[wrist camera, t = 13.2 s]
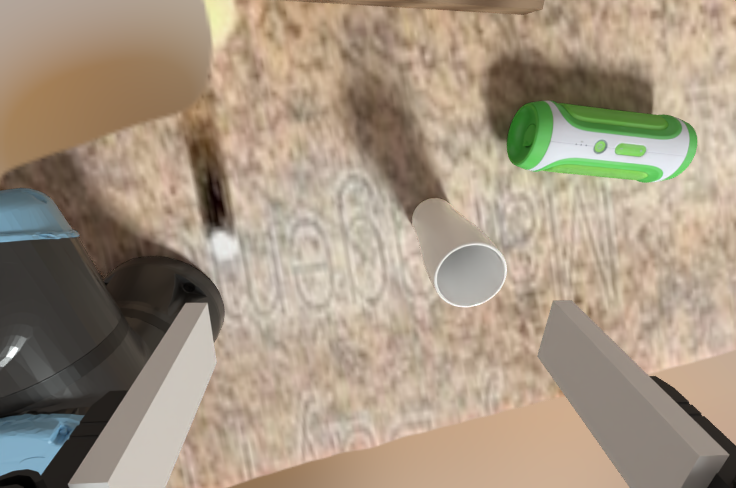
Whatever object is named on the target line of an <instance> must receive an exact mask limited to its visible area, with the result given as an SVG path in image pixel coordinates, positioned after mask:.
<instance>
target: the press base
mask: <svg viewBox="0 0 736 488" xmlns="http://www.w3.org/2000/svg"><path fill="white" fill-rule="evenodd" d="M287 1H304V2H321V3H337V4H354V5H371V6H388V7H404V8H421V9H438V10H454V11H471V12H488V13H504V14H521V15H524V14H528V13H531V12H534V11H538V10H541V9H543V4H544V0H287Z"/></svg>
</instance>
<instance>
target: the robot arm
mask: <svg viewBox="0 0 736 488" xmlns="http://www.w3.org/2000/svg"><path fill="white" fill-rule="evenodd" d="M78 236H80V235H79V233H78V232H77V231H75V230H73V229H72V228H71V226H70V225H69V224H68V222H67V221H66V219H65V218H64V216H63V215H62V213H61V212H60V210H59V209H58V207H57V206H56V204H55V203H54V201H53V200H52V199H51V198H50V197H49V196H47V195H46V194H44V193H42V192H40V191H37V190H34V189H29V188H16V189H8V190H2V191H0V488H165V487H166V485H167V482H168V480H169V477H170V475H171V473H172V470H173V468H174V465H175V463H176V460H177V458H178V456H179V453H180V451H181V448H182V446H183V443H184V441H185V438H186V436H187V434H188V431H189V429H190V426H191V424H192V421H193V419H194V417H195V414H196V412H197V409H198V407H199V404H200V402H201V400H202V397H203V395H204V392H205V390H206V387H207V385H208V382H209V380H210V378H211V375H212V373H213V370H214V368H215V365H216V363H217V360H216V354H215V348H214V342H215V340H216V339H217V337H218V334H219V332H220V330H221V328H222V325H223V322H224V304H223V301H222V298H221V296H220V294H219V292H218V290H217V288H216V287H215V286H214V284H213V283H212V282H211V281H210V280H209V279H208V278H207V277H206V276H205V275H204V274H203V273H201V272H200V271H199V270H197V269H196V268H194V267H192V266H190V265H188V264H186V263H184V262H181V261H178V260H175V259H171V258H166V257H159V256H148V257H140V258H135V259H132V260H129V261H127V262H125V263H123V264H121V265H119V266H118V267H117V268H115V269H114V270H113V271H112V272H111V273H110V274H109V275H108V276H106V277H105V278H104V279H102V278H101V276H100V274H99V272H98V271H97V269H96V267H95V266H94V264H93V262H92V260H91V259H90V257H89V255H88V253H87V252H86V250H85V248H84V247H83V245H82V243H81V241H80V240H79V238H78ZM538 358H539V359H540V361H541V362H542V363H543V365H544V366H545V368H546V369H547V371H548V372H549V373H550V375H551V376H552V378H553V379H554V380H555V382H556V383H557V385H558V386H559V388H560V389H561V390H562V392H563V393H564V395H565V396H566V398H567V399H568V400H569V402H570V403H571V405H572V406H573V407H574V409H575V410H576V412H577V413H578V415H579V416H580V417H581V419H582V420H583V422H584V423H585V425H586V426H587V427H588V429H589V430H590V432H591V433H592V435H593V436H594V437H595V439H596V440H597V442H598V443H599V445H600V446H601V447H602V449H603V450H604V451H605V453H606V454H607V456H608V457H609V459H610V460H611V461H612V463H613V464H614V466H615V467H616V469H617V470H618V472H619V473H620V474H621V476H622V477H623V478H624V480H625V482H626V483H627V484H628V486H629V487H630V488H736V446H735V445H734V444H733V443H732V442H731V441H730V440H729V439H728V438H727V437H726V436H725V435H724V434H723V433H722V432H721V431H719V430H718V429H717V428H716V427H715V426H714V425H713V424H712V423H711V422H710V421H709V420H708V419H707V418H705V417H704V416H702V415H701V413H700V412H699V411H698V410H697V409H696V408H695V407H694V406H693V405H690V404H689V402H688V400H686V399H685V398H684V397H683V396H682V395H681V394H680V393H679V392H678V391H677V390H676V389H675V388H673V387H672V386H670V385H669V384H667V383H666V382H664V381H662V380H661V379H659V378H658V377H656V376H648V375H647V374H646V373H645V372H644V371H643V370H642V369H641V368H640V367H639V366H638V365H637V364H636V363H635V362H634V361H633V360H632V359H631V358H630V357H629V356H628V355H627V354H626V353H625V352H624V351H623V350H622V349H621V348H620V347H619V346H618V345H617V344H616V343H615V342H614V341H613V340H612V339H611V338H610V337H609V336H608V335H607V334H605V333H604V332H603V331H602V330H601V329H600V328H599V327H598V326H597V325H596V324H595V323H594V322H593V321H592V320H591V319H590V318H589V317H588V316H587V315H586V314H585V313H584V312H583V311H582V310H581V309H580V308H579V307H578V306H577V305H576V304H575V303H574V302H573V301H572V300H563V301H553V303H552V306H551V310H550V313H549V317H548V320H547V324H546V327H545V331H544V334H543V338H542V341H541V345H540V349H539V352H538Z"/></svg>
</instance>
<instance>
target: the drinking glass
mask: <svg viewBox="0 0 736 488" xmlns="http://www.w3.org/2000/svg"><path fill="white" fill-rule="evenodd" d="M412 225H413V228H414V230H415V233H416V236H417V240H418V244H419V248H420V251H421V255H422V259H423V263H424V266H425V269H426V272H427V274H428V276H429V279H430V281H431V283H432V284H433V286H434V288H435V290H436V292H437V293H438V295H439V296H440V297H441V298H442V299H443V300H444V301H445V302H447V303H449V304H451V305H454V306H458V307H472V306H476V305H480V304H482V303H484V302H486V301H488V300H489V299H491V298H492V297H493V296H494V295H496V294H497V292H498V291H499V290H500V289H501V287H502V286H503V284H504V281H505V279H506V274H507V265H506V261H505V258H504V256H503V255H502V253H501V252H500V251H499V249H498V248H497V247H496V245H495V244H494V243H493V242H492V241H491V239H490V238H489V237H488V236H487V235H486V234H485V233H484V232H483V231H482V230H480V229H479V228H478V227H477V226H476V225H474V224H473V223H472V222H470V221H469V220H468V219H467V218H465V217H464V216H463V215H462V214H460V213H459V212H458V211H457V210H455V209H454V208H453V207H452V206H451V205H450V204H449V203H448V202H447V201H445V200H443V199H440V198H430V199H427V200H425V201H423V202H421V203H420V204H419V205H418V206H417V207H416V209H415V210H414V212H413V215H412Z"/></svg>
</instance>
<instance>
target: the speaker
mask: <svg viewBox="0 0 736 488" xmlns="http://www.w3.org/2000/svg"><path fill="white" fill-rule="evenodd" d="M696 148H697V135H696V132H695V130H694V128H693V127H692V126H691V125H690V124H688V123H687V122H685V121H683V120H681V119H679V118H676V117H673V116H670V115H653V114H645V113H636V112H628V111H619V110H610V109H603V108H595V107H587V106H579V105H572V104H564V103H559V104H558V103H556V102H554V101H538V102H532V103H527V104H525V105H523V106H522V107H521V108H520V109H519V110H518V111H517V113H516V114H515V116H514V118H513V120H512V123H511V125H510V129H509V132H508V138H507V153H508V157H509V159H510V161H511V162H512V163H513V164H514V165H516V166H518V167H521V168H523V169H526V170H530V171H534V172H537V171H541V170H543V171H549V172H558V173H569V174H579V175H590V176H599V177H609V178H619V179H629V180H637V181H639V182H657V181H663V180H668V179H671V178H674V177H676V176H678V175H679V174H680V173H682V172H683V171H684V170H685V169H686V168H687V167H688V166H689V164H690V163H691V161H692V159H693V158H694V155H695V153H696Z"/></svg>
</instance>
